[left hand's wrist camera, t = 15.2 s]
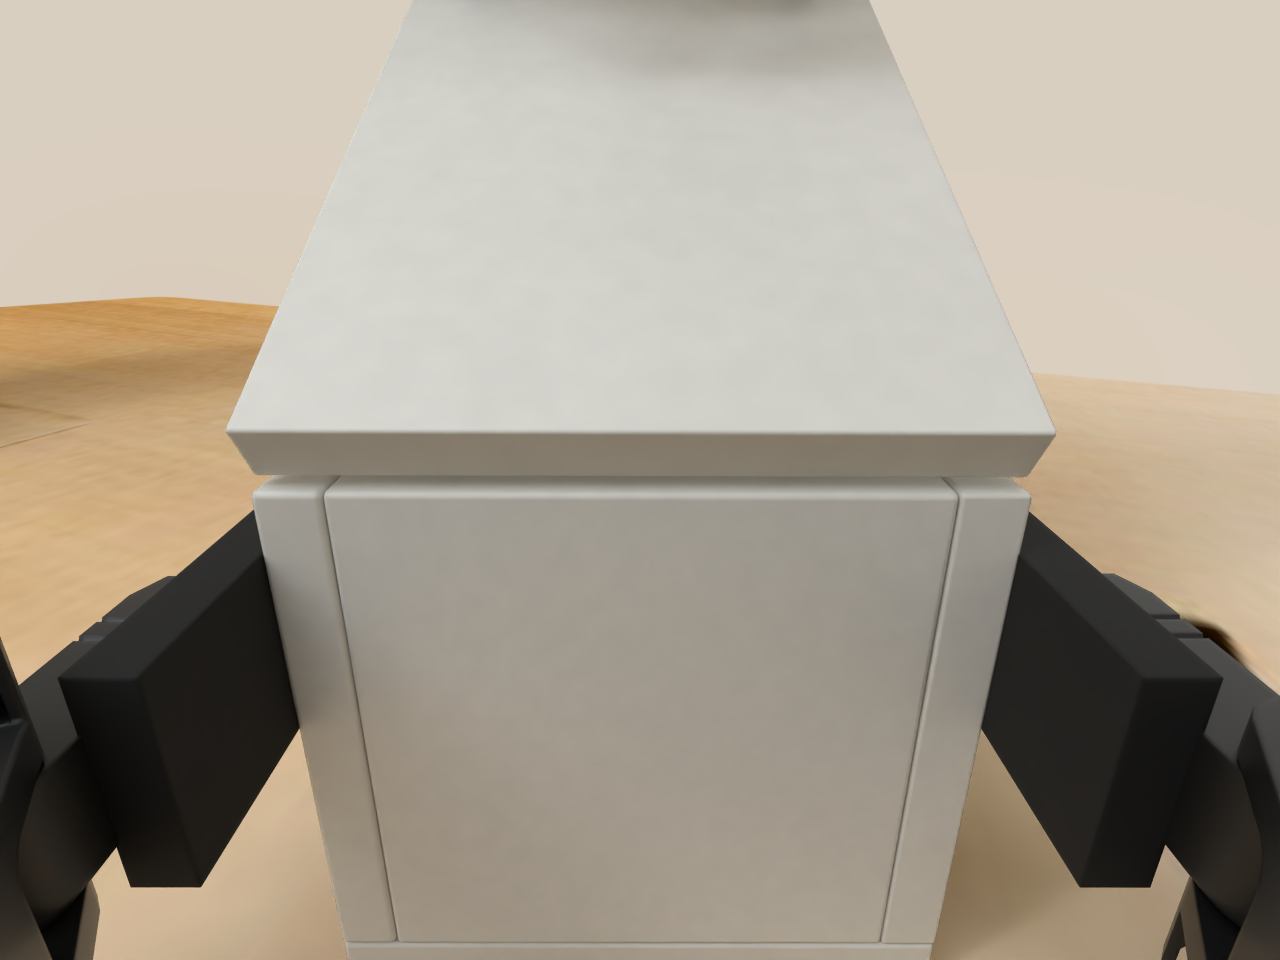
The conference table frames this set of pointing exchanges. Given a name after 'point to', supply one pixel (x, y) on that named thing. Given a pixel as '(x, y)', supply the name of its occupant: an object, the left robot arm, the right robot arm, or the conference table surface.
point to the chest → (640, 706)
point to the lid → (641, 261)
